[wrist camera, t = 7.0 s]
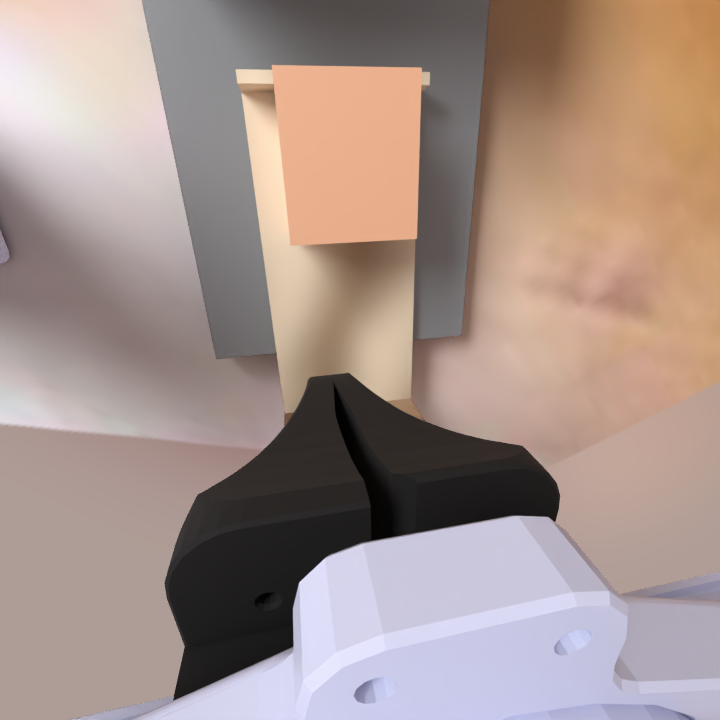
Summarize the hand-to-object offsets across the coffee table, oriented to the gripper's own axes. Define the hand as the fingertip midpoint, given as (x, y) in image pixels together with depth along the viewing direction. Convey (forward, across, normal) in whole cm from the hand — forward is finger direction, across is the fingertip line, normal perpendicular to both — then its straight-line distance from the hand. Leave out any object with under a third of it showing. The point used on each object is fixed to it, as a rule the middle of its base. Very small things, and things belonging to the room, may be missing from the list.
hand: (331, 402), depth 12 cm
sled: (+8, -1, -2) cm, 8 cm away
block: (+7, -2, -7) cm, 10 cm away
